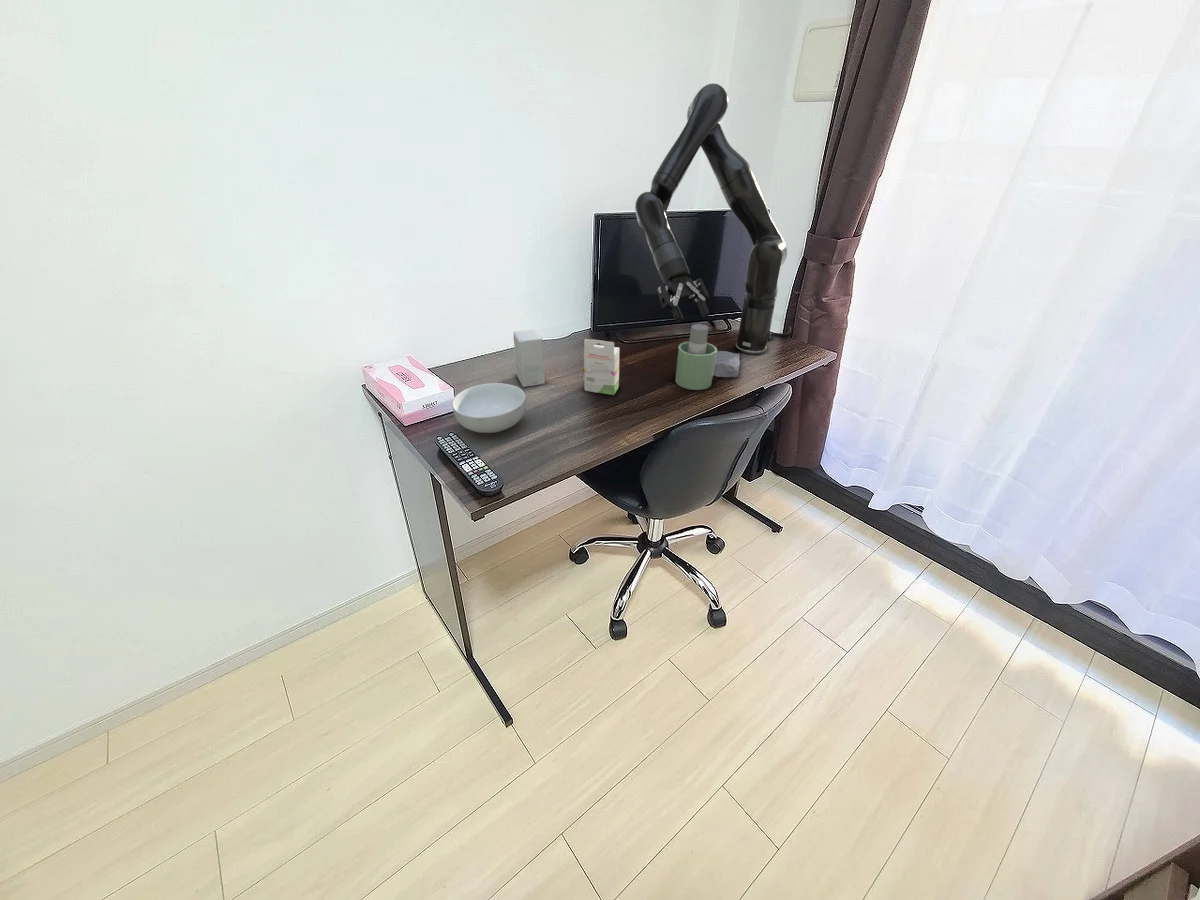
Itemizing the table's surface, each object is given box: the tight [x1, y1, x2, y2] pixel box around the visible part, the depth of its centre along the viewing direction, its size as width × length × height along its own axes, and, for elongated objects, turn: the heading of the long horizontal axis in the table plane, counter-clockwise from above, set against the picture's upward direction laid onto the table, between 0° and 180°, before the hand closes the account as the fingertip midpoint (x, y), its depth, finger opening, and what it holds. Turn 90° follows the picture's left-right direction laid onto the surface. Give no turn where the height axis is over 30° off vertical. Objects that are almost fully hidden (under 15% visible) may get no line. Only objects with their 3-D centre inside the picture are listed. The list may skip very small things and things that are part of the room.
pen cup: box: [674, 341, 718, 391], centre depth 137 cm, size 10×10×10 cm
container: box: [688, 323, 709, 355], centre depth 135 cm, size 5×5×15 cm
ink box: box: [583, 338, 620, 396], centre depth 131 cm, size 9×5×15 cm, turn 71°
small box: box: [513, 329, 546, 388], centre depth 136 cm, size 8×6×13 cm
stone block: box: [713, 350, 741, 379], centre depth 146 cm, size 12×5×10 cm
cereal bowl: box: [451, 382, 527, 434], centre depth 117 cm, size 17×17×7 cm
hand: (693, 318), depth 132 cm, fingers open, 8 cm apart
